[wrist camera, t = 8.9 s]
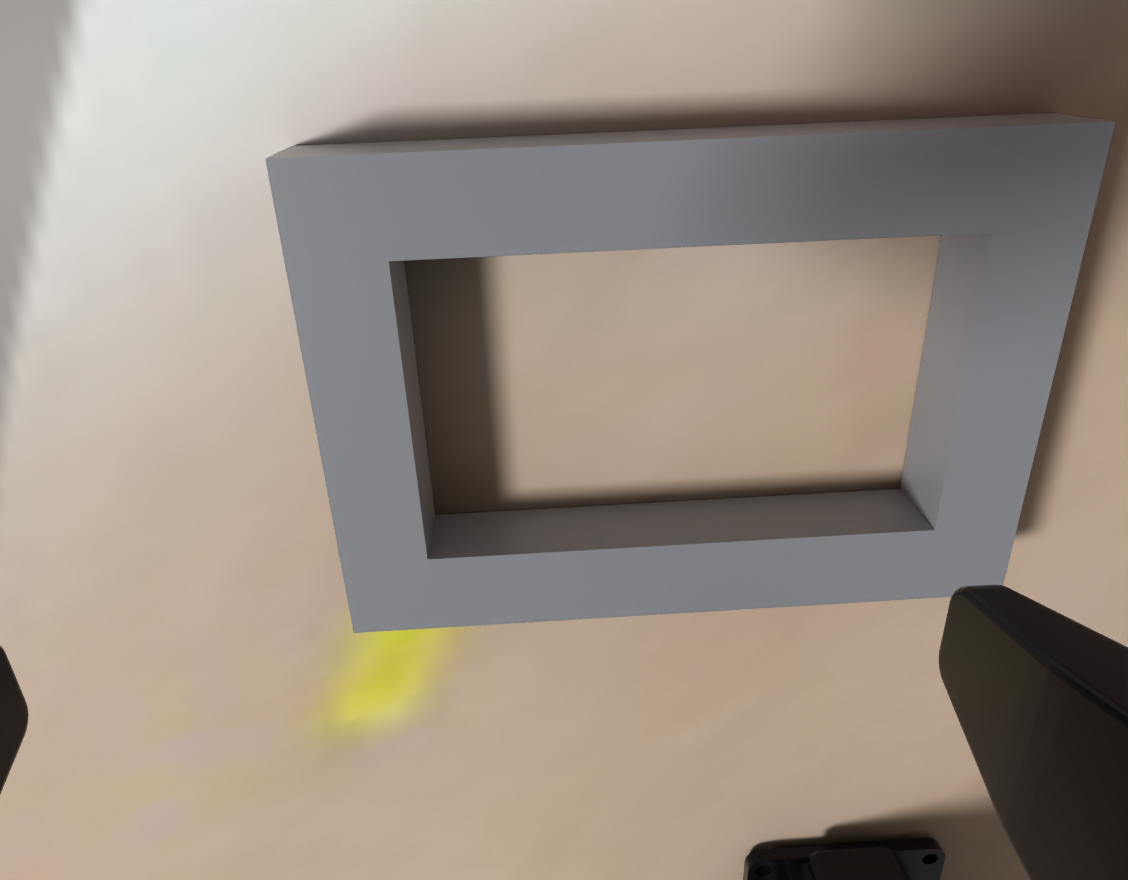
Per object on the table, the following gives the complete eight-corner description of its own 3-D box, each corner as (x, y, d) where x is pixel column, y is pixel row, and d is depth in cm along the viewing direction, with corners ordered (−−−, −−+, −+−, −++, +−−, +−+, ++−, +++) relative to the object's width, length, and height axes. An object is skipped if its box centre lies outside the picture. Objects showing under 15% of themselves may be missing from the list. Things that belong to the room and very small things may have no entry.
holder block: (962, 548, 22) (1001, 593, 20) (367, 583, 22) (353, 632, 20) (1054, 112, 17) (1115, 121, 16) (291, 145, 17) (265, 158, 15)
